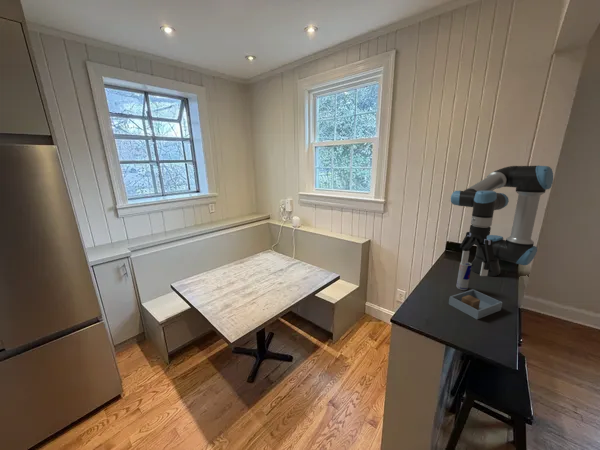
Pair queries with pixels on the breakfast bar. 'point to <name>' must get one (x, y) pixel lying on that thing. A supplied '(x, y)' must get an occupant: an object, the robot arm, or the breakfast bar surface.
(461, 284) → the beverage can
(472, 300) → the walnut cube
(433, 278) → the breakfast bar surface
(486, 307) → the tote
